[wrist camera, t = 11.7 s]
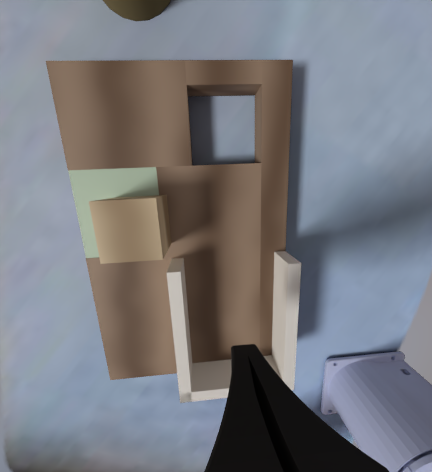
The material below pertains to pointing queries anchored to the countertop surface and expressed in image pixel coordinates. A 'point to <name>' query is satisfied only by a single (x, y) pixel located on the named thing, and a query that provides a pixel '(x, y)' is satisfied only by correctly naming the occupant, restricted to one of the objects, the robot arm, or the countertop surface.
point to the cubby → (219, 372)
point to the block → (131, 228)
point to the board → (183, 202)
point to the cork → (137, 8)
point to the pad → (107, 194)
